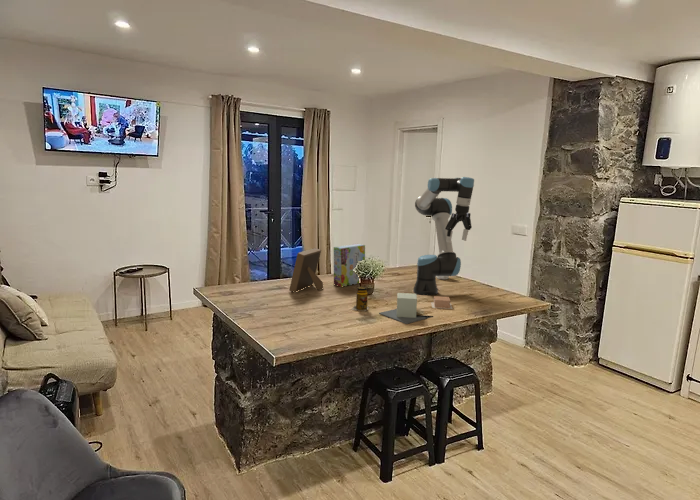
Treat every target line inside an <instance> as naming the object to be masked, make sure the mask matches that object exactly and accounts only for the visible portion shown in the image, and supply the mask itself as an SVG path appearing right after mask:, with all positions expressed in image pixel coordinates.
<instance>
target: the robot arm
mask: <svg viewBox="0 0 700 500" xmlns="http://www.w3.org/2000/svg"><path fill="white" fill-rule="evenodd" d="M474 186H475V179H474V178H472V177H468V176H462V177H455V178H451V177H450V178H448V177H447V178H443V177H442V178H441V177H430V178H429V179H428V182H427V188H426V189H425V191H424V192H423V193H422V195H420V196H418V197H417V198H416V199H415V202H414V207H415V210H416V211H417V212H418V213H419V214H421V215H423V216H429V217H431V220H433V221H434V224H435V232H436V237H437V245H438V254H437V255H436V254H424V255H421V256H419V257H418V259H417V264H416V265H417V268H416V281H415V283H414V287H413V289H412V290H413V294H416V295H421V296H435V295H436V296H437V294H439V289H438V285H437V280H436V279H437V277H436V276H449V277H455V276H458V275H459V274H460V271H461V265H462V261H461V257H457V253H456V252H454V248H453V243H452V239H453V238H452V237H453V230H454V228H455V227H456V226H457V224H458V223H459V222H462V225H463V227H464V228H463V232H462V235H461V240H462V241H465V242H466V241H467V238H468V235H469V231H471V229H472V221H471V220H472V219H471V212H469V211H470V205H471V202H472V196H473V190H474ZM442 192H457V197H456V204H455V211H454V212H455V213H454V212H453V205H452V201H451V200H450V199H449V198H448V197H447V198H446V197H438V196H439V195H440V193H442Z"/></svg>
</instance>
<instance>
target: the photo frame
mask: <svg viewBox="0 0 700 500" xmlns="http://www.w3.org/2000/svg"><path fill="white" fill-rule="evenodd" d="M321 253H322V250H321V249H319V248H316V247H314V248H311V249H306V250H303V251H299V252H298V253H297V254H296V259H295V264H294V269H293V272H292V277H291V281H290V285H289V289H288V291H289V292H291V291H294V292H296V291H298V290H301V289H303V288H305V287H308V286H310V285H312V284H313V286H314V287H315V289H316V290H317V289H321V290H323V289H324V282H323V281H322V280H321V279H320V278H319V276H318V275H317V274H316V273H317V269H318V264H319V261H320V257H321ZM310 287H311V286H310ZM308 288H309V287H308ZM322 288H323V289H322ZM303 290H304V289H303ZM301 291H302V290H301ZM294 292H293V293H294Z"/></svg>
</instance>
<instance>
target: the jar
mask: <svg viewBox="0 0 700 500" xmlns="http://www.w3.org/2000/svg"><path fill="white" fill-rule="evenodd" d="M436 279H438V280H448V279H450V276H436Z"/></svg>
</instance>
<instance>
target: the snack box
mask: <svg viewBox="0 0 700 500" xmlns="http://www.w3.org/2000/svg"><path fill="white" fill-rule="evenodd" d="M362 260H365V261H366V245H365V244H362V243H361V244H360V243H353V244H346V245H339V246H334V247H333V285H334V284H335V285H338V286H337V287H339V286H341V287H340V288H343V287H342V286H345V287H348V286H347V285H349V286H352V284H354V285H358V284H360V283H359V277H358V275H357V274H355V273H354V272H353V269H354V268H355V267H356V265H357V263H358V261H362ZM357 283H358V284H357ZM335 285H334V286H335Z"/></svg>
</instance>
